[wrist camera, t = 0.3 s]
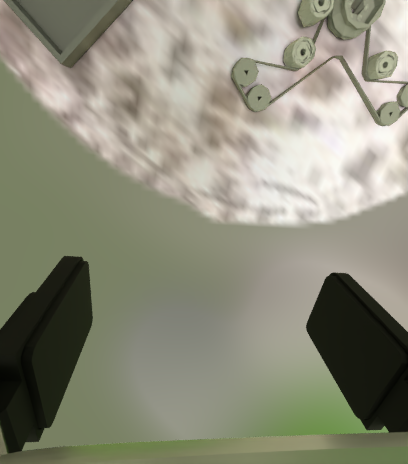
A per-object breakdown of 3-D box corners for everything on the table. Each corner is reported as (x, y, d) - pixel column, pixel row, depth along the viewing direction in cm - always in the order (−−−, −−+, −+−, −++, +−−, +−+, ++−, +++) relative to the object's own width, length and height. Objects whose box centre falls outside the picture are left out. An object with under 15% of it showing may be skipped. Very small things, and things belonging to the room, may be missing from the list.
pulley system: (241, -34, 29) (225, 109, 35) (254, -62, 25) (234, 107, 31) (439, 6, 33) (396, 128, 39) (480, -11, 29) (425, 128, 35)
